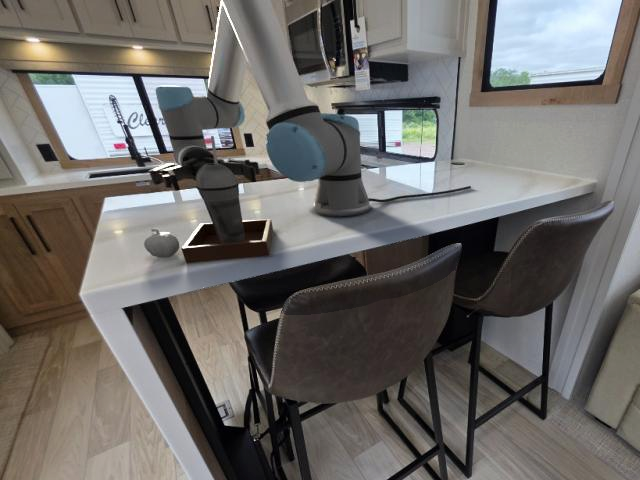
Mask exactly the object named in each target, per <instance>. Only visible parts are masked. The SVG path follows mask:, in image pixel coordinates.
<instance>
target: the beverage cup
mask: <svg viewBox="0 0 640 480" xmlns="http://www.w3.org/2000/svg"><path fill="white" fill-rule="evenodd" d="M210 141H211V147H212V148H211V149H212V154H213V156H214V163H208V164H205V165H203V166H202V167H201V168H200V169H199V170H198V172H197V175H196V181H195V184H196V189H197V190H198V193H199V195H200V198H201V199H202V201H203V203H204V205H205V208H206V210H207V214H208V215H209V218H210V220H211V223H213V225H214V228H215V230H216V233H217V236H218V238H219V240H220V242H221V244H223V243H236V242H245V237H244V228H243V221H244V220H243V216H242V215H243V214H242V208H241V202H240V188H239V185H240V184H239V182H238V179H237V178H236V175H234V174H233V173H232V171H231V170H230V169H228V168H227V167H226V166H224V165H222V164H219V163H218V162H217V159H218V156H217V155H218V154H217V149H216V141H215V136H213V135H210Z"/></svg>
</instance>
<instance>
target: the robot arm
mask: <svg viewBox="0 0 640 480" xmlns="http://www.w3.org/2000/svg"><path fill="white" fill-rule="evenodd" d="M219 6H220V7H219V10H218V11H219V12H218V17H217V23H216V30H215V31H216V32H215V39H214V45H213V51H212V57H211V65H210V69H209V70H210V71H209V76H208V77H209V78H208V85H207V91H206V95H205V96H204V95H194V94H193V92H192V89H191V88H190V87H189V86H181V85H158V86H156V88H155V95H156V100H157V104H158V108H159V111H160V113H161V115H162V119H163V121H164V124H165V128H166V130H167V133H168V137H169V141H170V145H171V148H172V151H173V157H174V161H175V162H176V164H177V165H176V164H175V163H172V162H167V163H165V164H164V165H161V166H159V167H155V168H152V169H150V170H148V172H149V176H150V179H151V181H152V184H153V185H156V186H159V185H161V184H163V183H164V185H165V188H166V189H170V188H173V189H174V191H175V192H177V191H181V188H180V184H179V182H181V181H183V180H192V181H195V182H196V175H197V172H198V170H199V169H200V168H201V167H202V166H203V165H205V164H208V163H214V156H213V152H211V151H209V150H208V148H207V147H208V146H207V144H206V140H205V136H204V131H207V130H218V129H229V130H230V129H232V128H238V127H240V126H242V125H243V124H244V122H245V120H246V119H245V118H246V115H245V109H244V107H243V105H242V103H241V102H240V100H241V99H240V98H241V95H242V90H243V85H244V80H245V77H246V72H247V67H248V66H249V69H250V71H251V73H252V75H253V78H254V80H255V82H256V85H257V87H258V89H259V91H260V93H261V96H262V99H263V101H264V104H265V105H266V108H267V110H268V113H267V116H266V120H265V124H266V126H267V128H268V133H267V135H266V141H267V142H266V144H265V146H266V147H265V148H266V152H267V156H268V158H269V161H270V162H271V164H272V165H273V167H274V168H275V169H276V171H277V172H278V173H280V175H282V176H283V177H284V178H287V179H288V180H290V181H293V182H297V183H306V182H312V181H315V180H317V184H316V185H317V186H316V190H315V196H314V200H313V208H314V212H315V213H317V214H319V215H322V216H327V217H352V216H359V215H362V214H364V213H366V212H368V211H369V210H370V208H371V207H370V202H373V203H374V202H375V203H389V202H392V201H396V200H400V199H401V200H403V199H410V198H421V197H422V198H423V197H432V196H437V195H438V196H439V195H446V194H450V193H456V192H461V191H465V190H469V189H472V186H471V185H468V186H464V187H459V188H455V189H449V190H443V191H442V190H441V191H436V192H428V193H417V194H406V195H398V196H394V197H389V198H384V199H379V198H369V196H368V193H367V190H366V187H365V186H364V182H363V178H362V177H363V175H362V158H361V157H362V156H361V155H362V153H361V130H360V124H359V121H358V119H357V118H356V116H355V117H354V116H352V115H347V114H340V113H339V114H338V113H328V112H326V113H325V112H321V109H320V107H319V105H318V104H317V103H316V102H314V101H313V100H311V99H309V97H308V96H307V93H306V90H305V88H304V84H303V82H302V80H301V77H300V75H299V72H298V70H297V67H296V64H295V61H294V59H293V56H292V53H291V51H290V48H289V46H288V43H287V40H286V38H285V35H284V32H283V30H282V27H281V24H280V21H279V19H278V17H277V13H276V11H275V9H274V6H273V3H272V0H220V4H219ZM217 162H218V163H219V164H222V165H224V166H226V167H227V168H228V169H230V170H231V171H232V173H233V174H234V175H235V176H243V177H244V178H245V179H246V180H248V181H249V182H251V183H257V179H256V178H257V177H256V176H259V175H260V174H261V171H260V167H259V166H260V165H259V162H258V161H251V160H250V159H245V160H242V159H235V158H232V157H230V158H228V159H227V161H225V160H224V159H222V158H217Z"/></svg>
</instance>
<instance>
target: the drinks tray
mask: <svg viewBox="0 0 640 480" xmlns="http://www.w3.org/2000/svg"><path fill="white" fill-rule="evenodd" d="M242 221H243V228H244V237H245V242H236V243H223V244H221V242H220V240H219V238H218V236H217V233H216V230H215V228H214V225H213V223H212V222H206V223H204V222H203V223H199V225H198V226H197V227H196V228H195V230H194V231H193V232H192V234H191V235H190V236H189V238H188V239H187V240H186V241H185V242H184V244H183V245H182V247H181V248H180V249H181V252H182V255H183V258H184V261H185V264H196V263H206V262H218V261H226V260H227V261H228V260H239V259H249V258H250V259H251V258H259V257H261V258H262V257H269V256H270V254H271V248H272V242H273V236H274V228H273V227H274V226H273V222H272V219H271V218H263V219H249V220H242Z"/></svg>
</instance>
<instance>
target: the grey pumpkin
mask: <svg viewBox="0 0 640 480" xmlns="http://www.w3.org/2000/svg"><path fill="white" fill-rule="evenodd" d="M150 231H151V232H153V233H151V234H150V235H148V236H147V237H146V238H145V240H144V242H143V246H144V249H145V250H146V251H147V252H148V253H149V254H150V255H151V256H153V257H156V258H159V259H160V258H162V259H165V258H171V257H173V256H174V255H175V254H176V253H177V252H178V251H179V249H180V241H179V239H178V238H177V236H175V235H174V234H173V233H171V232H169V231H160V230H159V229H158V228H151V229H150Z"/></svg>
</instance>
